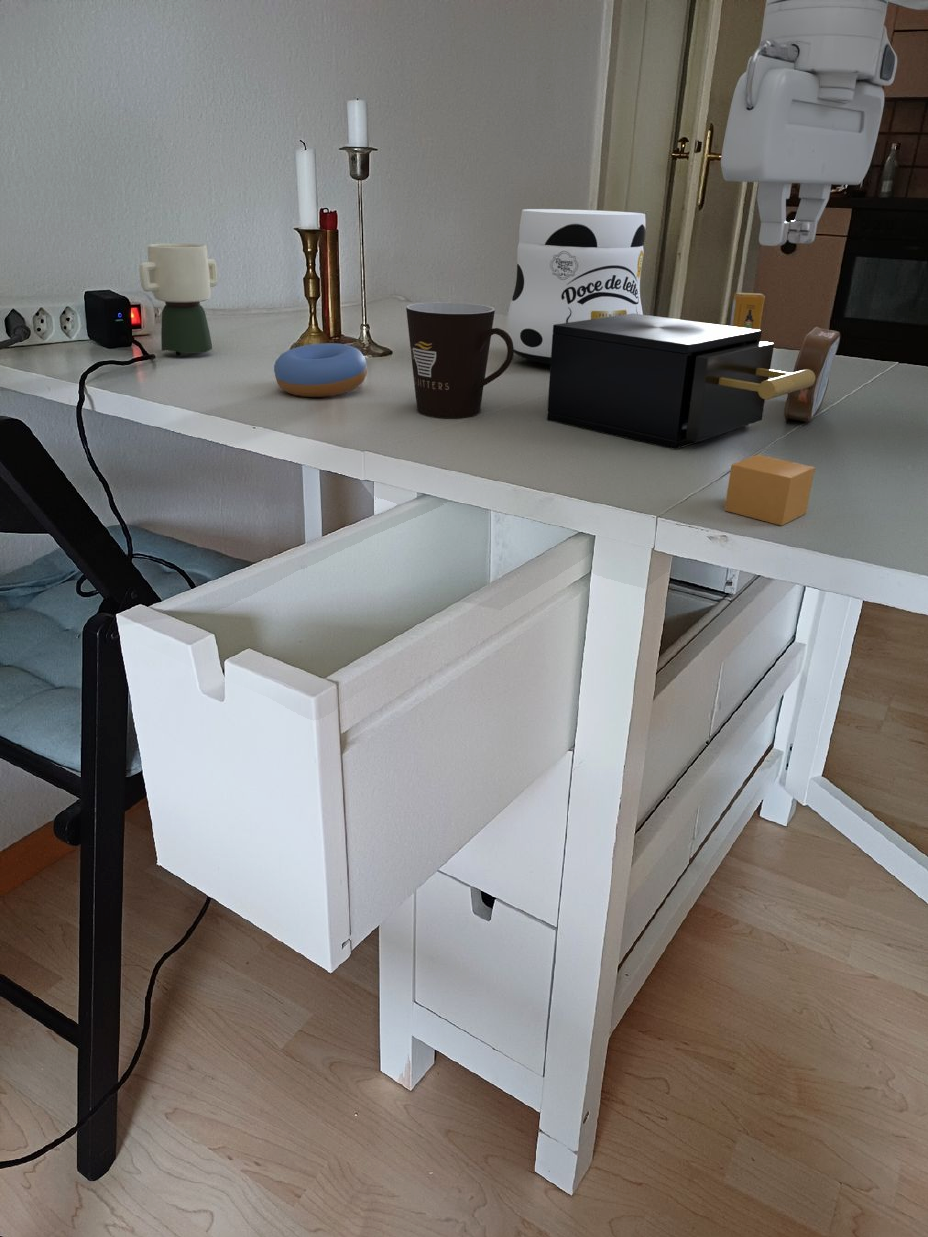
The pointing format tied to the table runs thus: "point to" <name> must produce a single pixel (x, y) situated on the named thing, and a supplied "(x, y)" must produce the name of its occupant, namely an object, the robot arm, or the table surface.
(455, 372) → the coffee mug
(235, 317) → the table surface
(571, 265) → the milk container
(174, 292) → the character mug
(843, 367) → the table surface
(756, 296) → the supplement box
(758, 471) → the tan block
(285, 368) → the doughnut
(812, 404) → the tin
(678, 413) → the black drawer box
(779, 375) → the drawer with wooden handle
